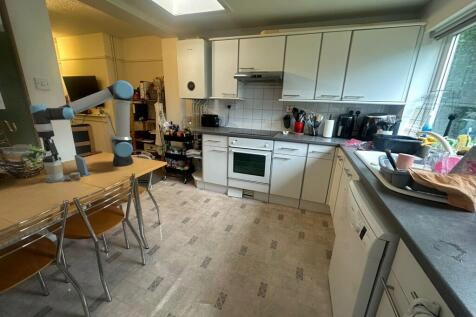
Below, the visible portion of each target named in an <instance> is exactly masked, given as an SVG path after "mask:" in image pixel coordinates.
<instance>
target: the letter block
mask: <svg viewBox="0 0 476 317" xmlns="http://www.w3.org/2000/svg"><path fill="white" fill-rule="evenodd" d="M81 177H82V176H81V175H80V172H75V171H74V172H70V174H69V179H70V182H78V181H81V179H82V178H81Z"/></svg>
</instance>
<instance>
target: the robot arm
mask: <svg viewBox="0 0 476 317" xmlns="http://www.w3.org/2000/svg"><path fill="white" fill-rule="evenodd" d="M133 96H134V88H133V86H132V84H131V83H130V82H128V81H126V80H117V81H116V82H113V83H112V84H110V85H108V86H106V87H105V88H104V89H103V90H100V91H98V92H95V93H92V94H90V95H86V96H85V97H82V98H79V99H77V100H74V101H71V102H69V103H67V104H64V105H60V106H59V107H48V105H46V104H31V105H29V111H30V115H31V117H32V120H33V125H34V126H33V127H34V128H35V130H36V131H37V132H36V134H37V137H38V138H40V139H42V145H43V149H44V151H45V154H46V156H52V158H53V161H54V165H55V166H57V165H61V164H60V161H59V157H60V156H59V155H60V154H59V151H58V149H57V147H56V145H55V142H54V139H52V138H54V137H55V130H54V127H53V123H52V121H69V120H70V121H71V120H75V115H76V114H79V113H81V112H84V111H86V110H89V109H91V108H94V107H96V106H98V105H101V104H103V103H106V102H109V101H111V100H114V102H115V112H116V114H115V117H116V118H115V119H116V120H115V123H116V126H115V127H116V128H115V129H116V130H115V131H116V132H115V133H116V136H112V137H111V138H110V139H111V145H112V153H113V158H112V166H114V167H127V166H130V165H132V164H134V159H133V157H132V153H133V150H134V148H133V147H134V146H133V144H132V143H133V138H132V137H131V136H130V135H131V132H130V131H131V129H130V128H131V125H130V124H131V123H130V118H131V104H132V103H133Z"/></svg>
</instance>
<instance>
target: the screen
mask: <svg viewBox="0 0 476 317" xmlns="http://www.w3.org/2000/svg"><path fill="white" fill-rule="evenodd" d="M73 157H74V160H75V164H76V169H75V170H74V173H75V172H80V177H82V178H85V177H89V176H91V175H92V173H91V172H90V171H88V166H87V161H86V159H85V158H84V157H81V155H78V154H75V155H74V156H73Z"/></svg>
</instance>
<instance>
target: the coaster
mask: <svg viewBox="0 0 476 317" xmlns="http://www.w3.org/2000/svg"><path fill="white" fill-rule="evenodd" d="M68 179H70V174H63V178H62V179H58V180H50V179H49V177H47V178H45V183H48V184H49V183H50V184H52V183H54V184H55V183H61V182H64V181H66V180H68Z"/></svg>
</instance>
